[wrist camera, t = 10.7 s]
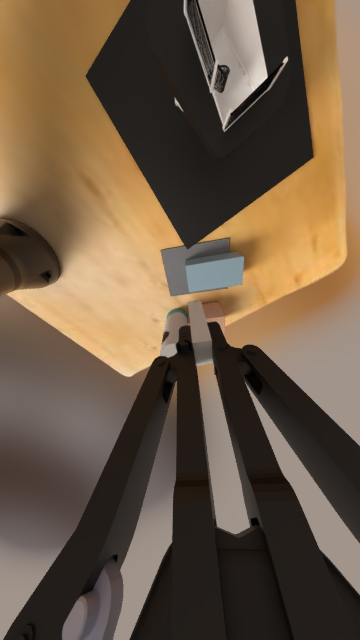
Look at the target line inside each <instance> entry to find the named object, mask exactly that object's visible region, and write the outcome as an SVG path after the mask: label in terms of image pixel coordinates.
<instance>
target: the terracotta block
mask: <svg viewBox="0 0 360 640" xmlns="http://www.w3.org/2000/svg"><path fill="white" fill-rule="evenodd" d="M202 307H203V310H204V314H205V317H206V321H207V322H214V321H216V322H217V323H219V324H220V327H221V329H222V332H223V334H224V335H225V315H224V313H223V311H222V308H221V306H220V304H219V302H213V303H205V304H202Z"/></svg>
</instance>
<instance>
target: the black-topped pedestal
mask: <svg viewBox="0 0 360 640" xmlns="http://www.w3.org/2000/svg"><path fill="white" fill-rule="evenodd" d="M86 78H87V79H88V81H89V83H90V84H91V86H92V88H93V90H94V91H95V93H96V95H97V96H98V98H99V100H100V102H101V103H102V105H103V107H104V108H105V110H106V112H107V114H108V115H109V117H110V119H111V120H112V122H113V124H114V125H115V127H116V129H117V131H118V132H119V134H120V136H121V137H122V139H123V141H124V143H125V144H126V146H127V148H128V149H129V151H130V153H131V155H132V156H133V158H134V160H135V161H136V163H137V165H138V166H139V168H140V170H141V172H142V173H143V175H144V177H145V178H146V180H147V182H148V184H149V185H150V187H151V189H152V190H153V192H154V194H155V196H156V197H157V199H158V201H159V202H160V204H161V206H162V207H163V209H164V211H165V213H166V214H167V216H168V218H169V219H170V221H171V223H172V225H173V226H174V228H175V230H176V231H177V233H178V235H179V237H180V238H181V240H182V242H183V243H184V245H185V247H186V248H187V250H188V249H189V248H191V247H192V246H193V245H195V244H196V243H197V242H199V241H200V240H201V239H203V238H204V237H206V236H207V235H208V234H210V233H211V232H212V231H214V230H215V229H217V228H218V227H219V226H221V225H222V224H223V223H225V222H226V221H227V220H229V219H230V218H232V217H233V216H234V215H236V214H237V213H238V212H240V211H241V210H242V209H244V208H245V207H247V206H248V205H249V204H251V203H252V202H253V201H255V200H256V199H257V198H259V197H260V196H262V195H263V194H264V193H266V192H267V191H268V190H270V189H271V188H272V187H274V186H275V185H277V184H278V183H279V182H281V181H282V180H283V179H285V178H286V177H287V176H289V175H290V174H292V173H293V172H294V171H296V170H297V169H298V168H300V167H301V166H302V165H304V164H305V163H307V162H308V161H309V160H311V159H312V158H313V148H312V140H311V131H310V123H309V114H308V105H307V97H306V88H305V79H304V71H303V62H302V54H301V45H300V36H299V28H298V19H297V11H296V2H295V0H131V1H130V2H129V4H128V6H127V7H126V9H125V11H124V12H123V14H122V16H121V17H120V19H119V21H118V22H117V24H116V26H115V27H114V29H113V31H112V32H111V34H110V36H109V37H108V39H107V41H106V42H105V44H104V46H103V48H102V49H101V51H100V53H99V54H98V56H97V58H96V59H95V61H94V63H93V64H92V66H91V68H90V69H89V71H88V73H87V74H86Z"/></svg>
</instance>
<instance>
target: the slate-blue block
mask: <svg viewBox="0 0 360 640" xmlns="http://www.w3.org/2000/svg"><path fill="white" fill-rule="evenodd" d="M185 267H186V274H187V281H188V288H189V292H195V291H202V290H209V289H216V288H223V287H229V286H236V285H242V280H243V269H244V268H243V267H244V256H243V255H241V254H239V253H237V252H236V251H235V252H229V253H223V254H218V255H212V256H206V257H200V258H195V259H189V260H185Z"/></svg>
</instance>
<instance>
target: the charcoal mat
mask: <svg viewBox="0 0 360 640" xmlns="http://www.w3.org/2000/svg"><path fill="white" fill-rule="evenodd" d="M223 253H229V238H226V239H221V240H215V241H210V242H204V243H199V244H195V245H193V246H192V247H191V248H189V249H188V250H187V248H186V247H185V246H182V247H176V248H171V249H165V250H161V254H162V259H163V264H164V268H165V273H166V277H167V282H168V287H169V291H170V296H177V295H184V294H191V293H198V292H205V291H212V290H219V289H226V288H228V287H223V288H216V289H209V290H202V291H195V292H189V288H188V281H187V274H186V267H185V260H189V259H195V258H200V257H206V256H212V255H218V254H223Z"/></svg>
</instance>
